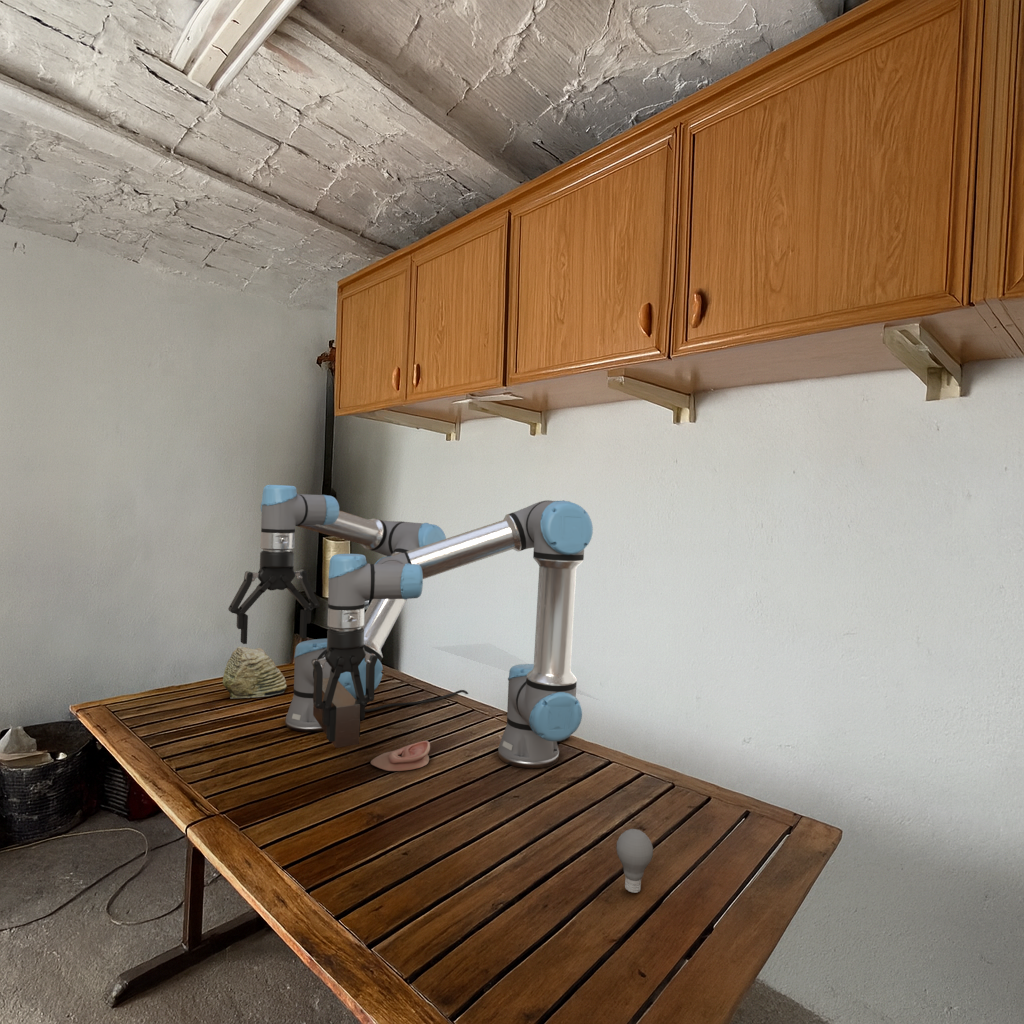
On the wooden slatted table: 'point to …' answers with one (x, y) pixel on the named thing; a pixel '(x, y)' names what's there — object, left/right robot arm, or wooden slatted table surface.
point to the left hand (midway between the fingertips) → (274, 640)
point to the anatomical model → (404, 757)
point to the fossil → (252, 674)
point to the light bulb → (634, 857)
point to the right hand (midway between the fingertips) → (343, 737)
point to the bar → (341, 716)
